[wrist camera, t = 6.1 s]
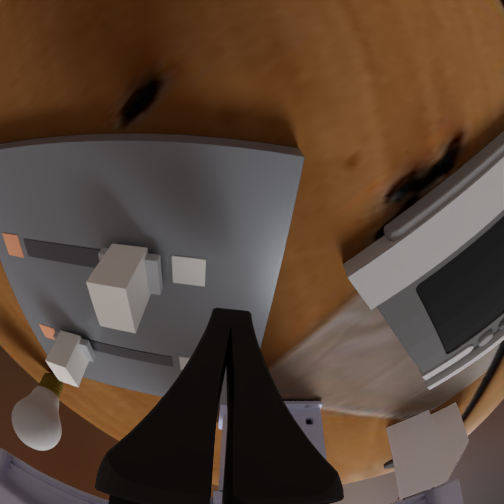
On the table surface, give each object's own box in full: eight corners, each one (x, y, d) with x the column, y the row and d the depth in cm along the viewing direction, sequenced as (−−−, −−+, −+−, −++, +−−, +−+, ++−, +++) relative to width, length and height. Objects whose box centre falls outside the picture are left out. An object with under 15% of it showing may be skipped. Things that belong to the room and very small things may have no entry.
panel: (298, 148, 11) (304, 157, 10) (244, 392, 22) (244, 407, 21) (-10, 145, 10) (-27, 154, 9) (60, 355, 21) (55, 368, 20)
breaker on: (87, 337, 16) (72, 370, 14) (97, 359, 18) (85, 389, 15) (54, 328, 16) (38, 357, 14) (65, 350, 17) (52, 378, 15)
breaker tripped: (160, 249, 12) (140, 291, 10) (163, 292, 14) (148, 335, 11) (101, 242, 12) (74, 279, 10) (109, 284, 13) (89, 323, 11)
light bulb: (32, 350, 22) (-2, 425, 13) (77, 375, 23) (49, 455, 15) (39, 373, 25) (12, 438, 16) (79, 394, 26) (57, 462, 18)
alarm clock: (429, 390, 19) (360, 316, 11) (413, 349, 22) (333, 250, 15) (564, 280, 12) (579, 122, 5) (539, 249, 16) (527, 97, 8)
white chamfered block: (385, 427, 31) (399, 499, 21) (457, 394, 27) (479, 464, 17) (393, 440, 36) (404, 497, 26) (452, 413, 32) (469, 470, 22)
